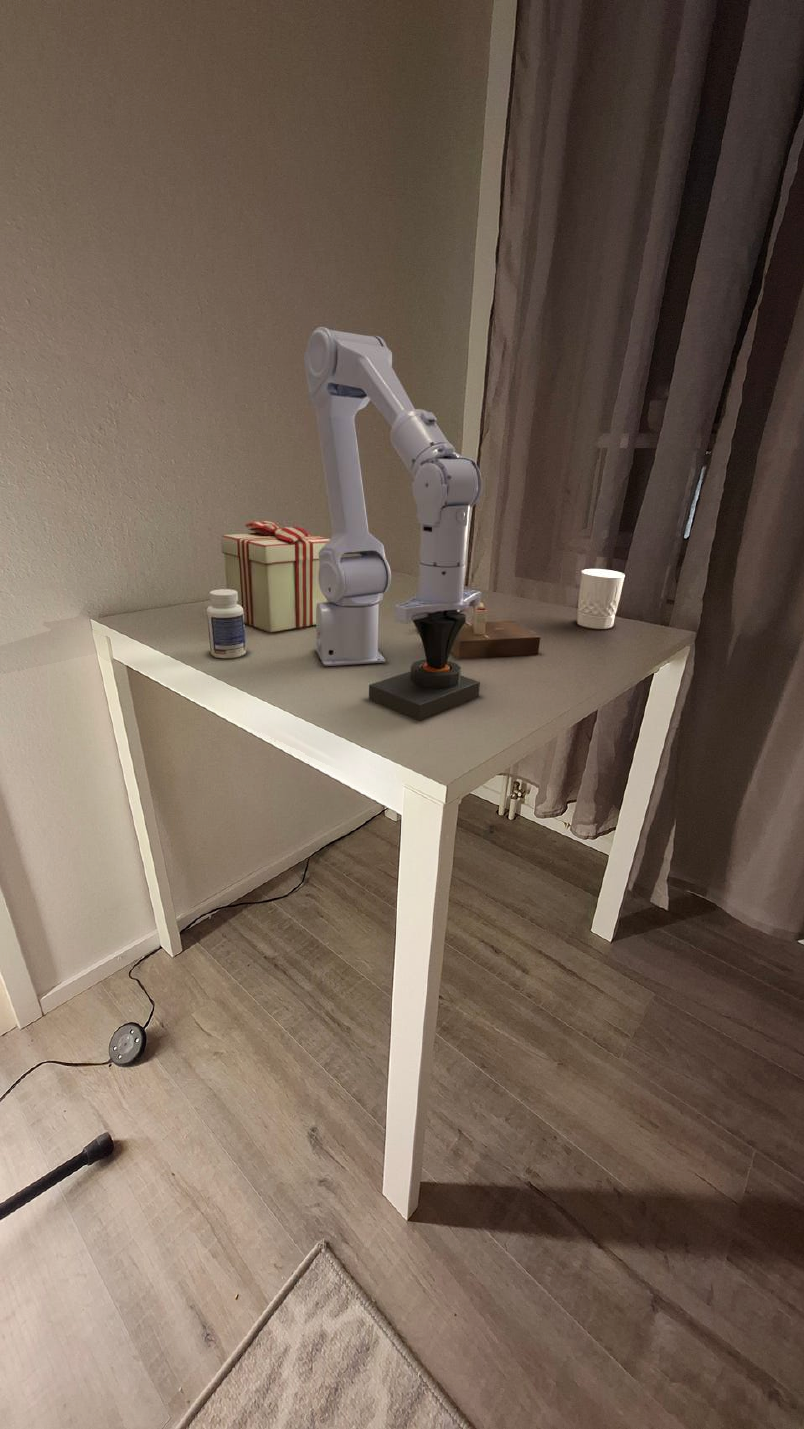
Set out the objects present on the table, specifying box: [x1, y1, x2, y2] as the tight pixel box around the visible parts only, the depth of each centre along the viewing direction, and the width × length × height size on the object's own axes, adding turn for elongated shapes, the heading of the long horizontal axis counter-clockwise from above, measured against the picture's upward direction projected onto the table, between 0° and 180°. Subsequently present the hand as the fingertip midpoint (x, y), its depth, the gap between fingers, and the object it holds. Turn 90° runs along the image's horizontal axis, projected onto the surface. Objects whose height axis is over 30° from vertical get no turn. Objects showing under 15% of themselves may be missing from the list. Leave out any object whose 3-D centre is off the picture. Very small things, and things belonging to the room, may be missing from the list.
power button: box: [422, 663, 450, 673], centre depth 82 cm, size 4×4×2 cm
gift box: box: [220, 520, 331, 633], centre depth 113 cm, size 17×18×17 cm
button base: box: [368, 659, 481, 722], centre depth 81 cm, size 12×9×4 cm
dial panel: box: [450, 620, 541, 660], centre depth 103 cm, size 14×10×3 cm
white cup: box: [576, 568, 626, 630], centre depth 118 cm, size 8×8×10 cm
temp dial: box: [470, 602, 488, 635], centre depth 101 cm, size 5×2×4 cm, turn 1°
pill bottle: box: [206, 588, 247, 659], centre depth 94 cm, size 5×5×10 cm
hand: (436, 666), depth 82 cm, fingers closed, pressing on power button
